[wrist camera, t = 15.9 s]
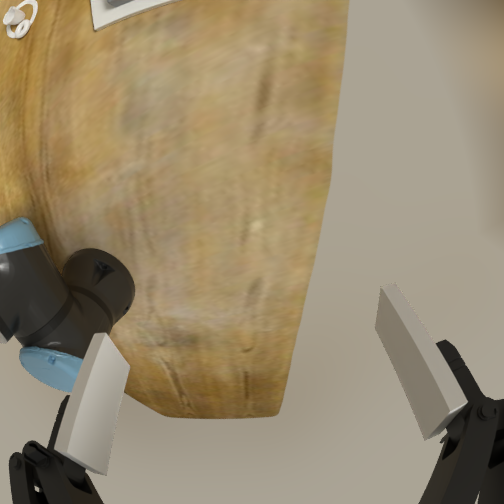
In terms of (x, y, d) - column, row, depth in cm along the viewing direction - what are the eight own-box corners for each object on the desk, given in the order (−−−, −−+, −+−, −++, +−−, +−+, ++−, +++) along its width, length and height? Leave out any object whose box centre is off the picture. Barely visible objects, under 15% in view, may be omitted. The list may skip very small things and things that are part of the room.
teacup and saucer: (34, 34, 24) (20, 32, 20) (5, 47, 23) (-9, 47, 20) (42, -7, 19) (30, -11, 16) (12, 8, 19) (-1, 5, 15)
